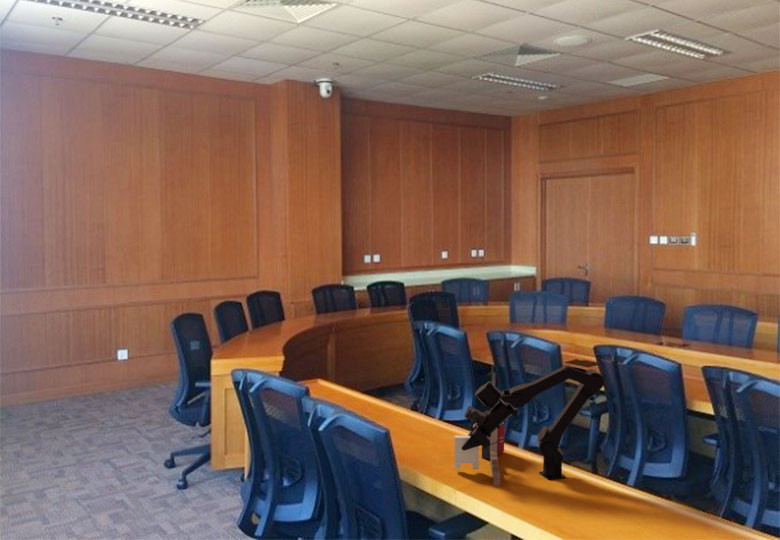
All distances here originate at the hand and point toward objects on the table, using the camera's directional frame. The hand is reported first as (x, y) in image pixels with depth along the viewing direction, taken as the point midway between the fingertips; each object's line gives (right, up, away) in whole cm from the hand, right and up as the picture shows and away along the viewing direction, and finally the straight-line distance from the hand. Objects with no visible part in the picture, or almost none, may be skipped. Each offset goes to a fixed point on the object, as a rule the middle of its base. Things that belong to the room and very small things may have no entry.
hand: (462, 448), depth 222 cm
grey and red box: (+13, -7, +17) cm, 23 cm away
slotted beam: (+11, -8, -1) cm, 14 cm away
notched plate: (+1, -7, 0) cm, 7 cm away
